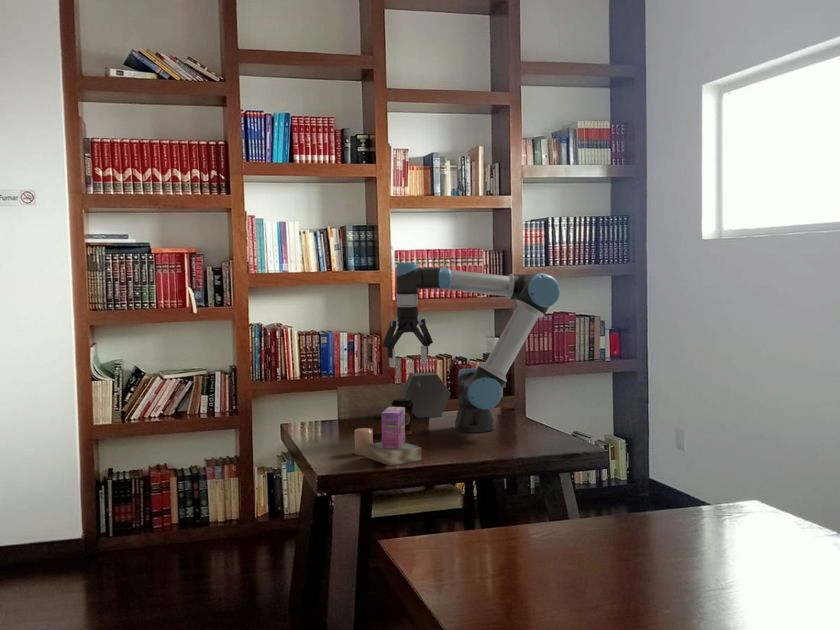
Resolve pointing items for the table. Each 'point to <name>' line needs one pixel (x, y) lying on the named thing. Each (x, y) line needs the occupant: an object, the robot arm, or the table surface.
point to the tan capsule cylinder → (363, 440)
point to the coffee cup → (408, 411)
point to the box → (393, 427)
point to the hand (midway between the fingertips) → (408, 365)
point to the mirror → (394, 454)
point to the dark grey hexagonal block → (426, 394)
